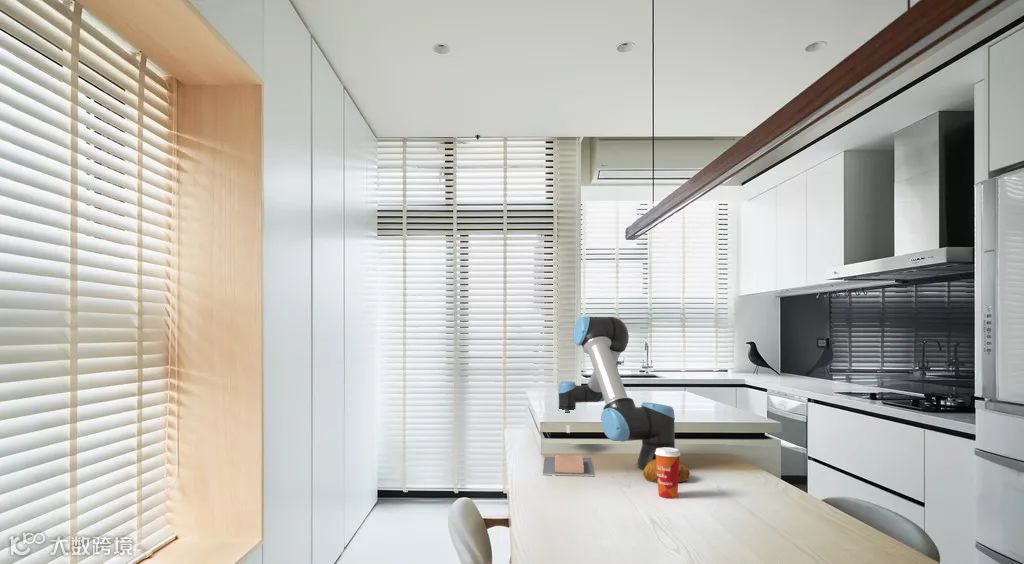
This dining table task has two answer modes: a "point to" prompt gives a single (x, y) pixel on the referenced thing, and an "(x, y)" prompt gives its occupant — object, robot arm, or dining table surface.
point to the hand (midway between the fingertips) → (568, 429)
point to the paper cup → (667, 471)
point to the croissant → (651, 472)
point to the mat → (550, 469)
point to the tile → (568, 464)
